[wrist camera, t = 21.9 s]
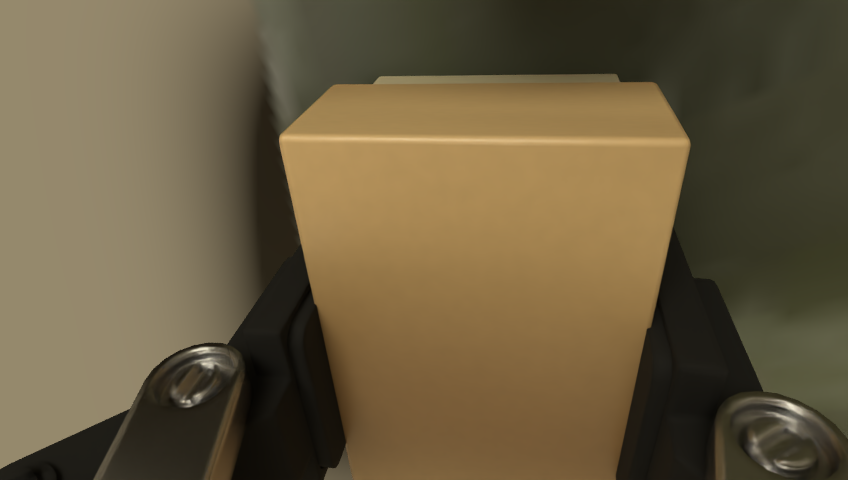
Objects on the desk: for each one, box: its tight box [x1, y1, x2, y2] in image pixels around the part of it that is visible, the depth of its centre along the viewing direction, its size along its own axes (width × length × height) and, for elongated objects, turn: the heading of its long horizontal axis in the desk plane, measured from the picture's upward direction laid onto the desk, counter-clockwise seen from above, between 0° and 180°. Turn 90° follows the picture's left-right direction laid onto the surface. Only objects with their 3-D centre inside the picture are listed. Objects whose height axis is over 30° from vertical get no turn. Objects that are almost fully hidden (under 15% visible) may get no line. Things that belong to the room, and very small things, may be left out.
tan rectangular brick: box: [279, 74, 691, 480], centre depth 9 cm, size 8×4×3 cm, turn 4°
